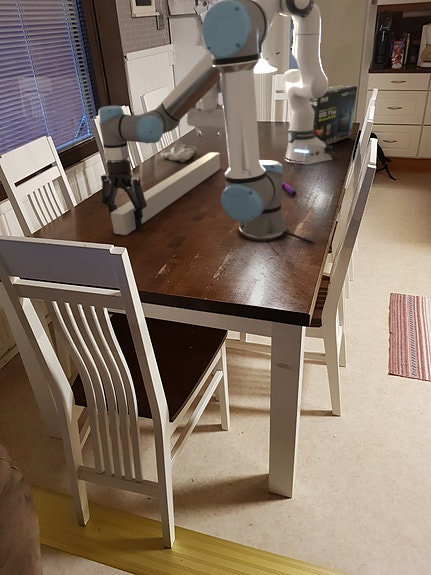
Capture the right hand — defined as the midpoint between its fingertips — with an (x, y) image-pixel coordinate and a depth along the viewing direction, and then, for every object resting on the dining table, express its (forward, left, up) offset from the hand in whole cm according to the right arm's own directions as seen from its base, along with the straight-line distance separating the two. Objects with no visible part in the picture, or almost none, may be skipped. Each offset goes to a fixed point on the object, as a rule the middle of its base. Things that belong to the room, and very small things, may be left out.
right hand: (209, 137), depth 201 cm
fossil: (+8, -28, -15) cm, 33 cm away
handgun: (-19, +33, -15) cm, 41 cm away
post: (+23, +25, -15) cm, 37 cm away
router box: (-71, -22, -15) cm, 76 cm away
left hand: (+46, +51, -14) cm, 70 cm away
